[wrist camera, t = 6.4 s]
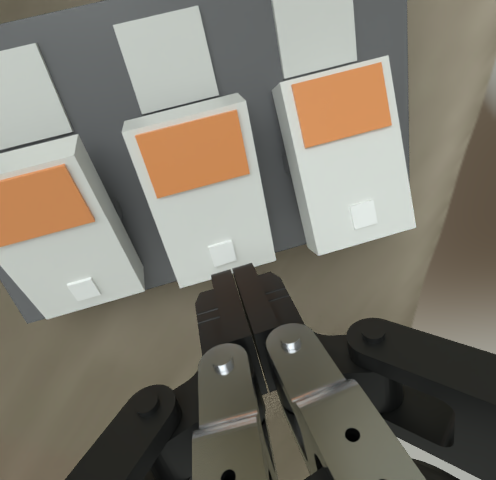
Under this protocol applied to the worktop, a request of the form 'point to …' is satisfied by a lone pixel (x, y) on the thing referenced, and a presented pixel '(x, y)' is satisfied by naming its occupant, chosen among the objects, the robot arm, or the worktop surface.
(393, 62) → the rocker switch panel
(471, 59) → the worktop surface
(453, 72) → the worktop surface
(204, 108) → the block
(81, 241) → the rocker
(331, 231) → the block
